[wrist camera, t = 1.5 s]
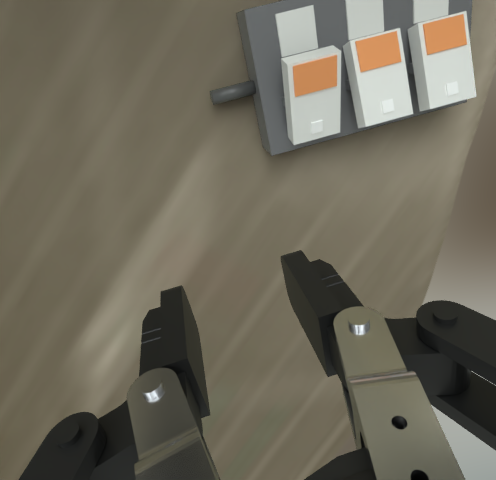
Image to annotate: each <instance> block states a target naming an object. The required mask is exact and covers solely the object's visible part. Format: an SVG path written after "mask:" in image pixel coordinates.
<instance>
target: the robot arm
mask: <svg viewBox="0 0 496 480" xmlns="http://www.w3.org/2000/svg"><path fill="white" fill-rule="evenodd" d="M281 263H282V268H283V273H284V278H285V283H286V288H287V292H288V296H289V300H290V302H291V305H292V308H293V310H294V312H295V314H296V316H297V317H298V319H299V321H300V323H301V325H302V327H303V329H304V331H305V333H306V335H307V337H308V339H309V341H310V343H311V345H312V347H313V349H314V351H315V353H316V355H317V357H318V359H319V361H320V363H321V364H322V366H323V368H324V370H325V372H326V374H327V376H328V377H329V376H332V375H336V374H337V375H338V376H339V378H340V380H341V382H342V389H343V395H344V399H345V403H346V407H347V411H348V416H349V420H350V424H351V428H352V432H353V436H354V441H355V445H356V449H357V450H355V451H353V452H350V453H347V454H344V455H341V456H338V457H336V458H335V459H333V460H332V461H330V462H329V463H328V464H326V465H325V466H323V467H322V468H320V469H319V470H317V471H316V472H315V473H313V474H312V475H310V476H309V477H307V478H306V479H304V480H465V478H464V475H463V474H462V471H461V469H460V467H459V465H458V462H457V460H456V458H455V456H454V454H453V452H452V449H451V447H450V445H449V443H448V441H447V439H446V437H445V434H444V432H443V430H442V428H441V426H440V424H439V421H438V419H437V417H436V415H435V413H434V411H433V409H432V406H431V405H433V406H434V407H436V408H437V409H438V410H440V411H441V412H442V413H444V414H445V415H447V416H448V417H449V418H451V419H453V420H454V421H455V422H456V423H458V424H459V425H461V426H462V427H464V428H465V429H467V430H468V431H469V432H471V433H472V434H473V435H475V436H476V437H478V438H479V439H480V440H482V441H483V442H485V443H486V444H487V445H489V446H490V447H492V448H493V449H495V450H496V386H495V385H496V320H493V319H491V318H489V317H487V316H484V315H483V314H480V313H478V312H476V311H474V310H471V309H469V308H467V307H465V306H463V305H460V304H458V303H455V302H451V301H442V300H441V301H432V302H428V303H426V304H424V305H422V306H421V307H420V308H419V309H418V311H417V315H416V318H404V319H388V318H384V317H383V316H382V315H381V314H380V313H379V312H378V311H376V310H374V309H372V308H368V307H364V306H363V305H362V303H361V302H360V301H359V300H358V298H357V297H356V296H355V295H354V293H353V292H352V291H351V290H350V288H349V287H348V286H347V284H346V283H345V282H344V281H343V279H342V278H341V277H340V276H339V275H338V273H337V272H336V271H335V269H334V268H333V267H332V265H330V264H328V263H326V262H324V261H322V260H320V259H319V260H315V261H312V262H309V260H308V259H307V257H306V256H305V255H304V253H303V252H302V251H301V250H299V251H296V252H293V253H289V254H286V255H283V256H281ZM141 342H142V344H141V356H140V372H139V377H138V378H137V379H136V380H135V381H134V382H133V384H132V385H131V387H130V388H129V391H128V394H127V400H126V401H125V402H124V403H123V404H122V405H120V406H119V407H117V408H116V409H114V410H113V411H111V412H109V413H108V414H106V415H104V416H103V417H101V418H99V419H97V418H96V416H95V415H93V414H92V413H89V412H80V413H76V414H73V415H71V416H69V417H67V418H65V419H63V420H62V421H61V422H59V423H58V424H57V425H56V426H55V427H54V428H53V429H52V430H51V431H50V432H49V433H48V435H47V436H46V438H45V439H44V441H43V442H42V444H41V446H40V447H39V449H38V450H37V452H36V453H35V455H34V457H33V458H32V460H31V461H30V463H29V464H28V466H27V467H26V469H25V471H24V472H23V474H22V475H21V477H20V478H19V480H220V477H219V475H218V472H217V470H216V467H215V465H214V462H213V460H212V457H211V454H210V452H209V449H208V447H207V444H206V442H205V439H204V437H203V430H202V421H201V418H203V417H206V416H209V415H210V409H209V402H208V395H207V388H206V380H205V373H204V366H203V358H202V351H201V344H200V337H199V332H198V328H197V324H196V321H195V318H194V315H193V313H192V310H191V307H190V304H189V302H188V299H187V296H186V293H185V291H184V288H183V286H182V285H181V286H178V287H175V288H171V289H168V290H164V291H161V307H158V308H155V309H152V310H149V312H148V313H147V315H146V317H145V319H144V320H143V324H142V340H141ZM471 371H473V372H474V373H473V372H471ZM475 373H476V374H478V375H480V376H482V377H483V378H485V379H487V380H488V381H490V382H492V383H493V384H492V383H490V382H488V381H487V380H485V379H483V378H481V377H480V376H478V375H476V374H475ZM494 384H495V385H494Z"/></svg>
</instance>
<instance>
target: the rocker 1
mask: <svg viewBox="0 0 496 480" xmlns="http://www.w3.org/2000/svg"><path fill="white" fill-rule="evenodd" d="M281 65H282V76H283V87H284V98H285V109H286V120H287V131H288V138H289V139H290V141H291V142H292V143H293V145H296V144H300V143H304V142H307V141H311V140H315V139H318V138H322V137H325V136H329V135H333V134H336V133H340V108H341V50H339V49H338V48H336V47H335V46H333V45H332V46H328V47H324V48H320V49H316V50H312V51H308V52H304V53H300V54H296V55H292V56H289V57H285V58H281Z"/></svg>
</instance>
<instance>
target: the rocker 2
mask: <svg viewBox="0 0 496 480" xmlns="http://www.w3.org/2000/svg"><path fill="white" fill-rule="evenodd" d="M407 30H408V37H409V43H410V50H411V57H412V63H413V70H414V77H415V83H416V90H417V96H418V103H419V110H420V111H424V110H429V109H433V108H437V107H440V106H444V105H447V104H451V103H455V102H458V101H462V100H466V99H469V98H473V97H476V89H475V81H474V72H473V64H472V55H471V46H470V38H469V29H468V21H467V12H466V11H464V12H460V13H456V14H452V15H448V16H444V17H440V18H436V19H432V20H428V21H424V22H421V23H417V24H416V25H414V26H412V27H411V28H409V29H407Z"/></svg>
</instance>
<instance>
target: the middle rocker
mask: <svg viewBox="0 0 496 480" xmlns="http://www.w3.org/2000/svg"><path fill="white" fill-rule="evenodd" d="M343 51H344V56H345V62H346V67H347V72H348V77H349V83H350V88H351V93H352V99H353V104H354V109H355V115H356V120H357V125H358V128H363V127H367V126H371V125H375V124H378V123H382V122H386V121H389V120H393V119H397V118H400V117H404V116H407V115H411V114H413V109H412V102H411V96H410V89H409V83H408V77H407V70H406V64H405V57H404V51H403V44H402V38H401V31H400V28H397V29H393V30H389V31H385V32H381V33H377V34H374V35H370V36H366V37H362V38H358V39H354V40H350V41H349V42H347V43H346V44H345V45H343Z"/></svg>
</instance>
